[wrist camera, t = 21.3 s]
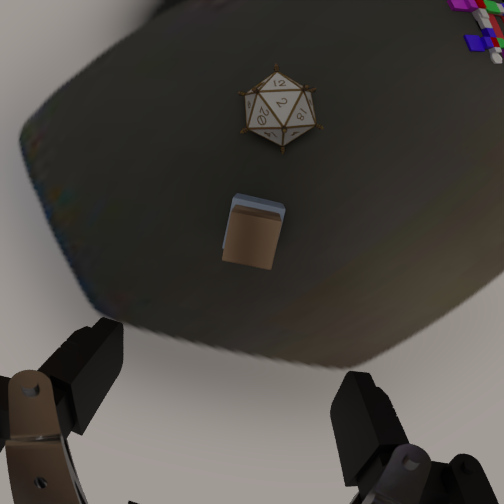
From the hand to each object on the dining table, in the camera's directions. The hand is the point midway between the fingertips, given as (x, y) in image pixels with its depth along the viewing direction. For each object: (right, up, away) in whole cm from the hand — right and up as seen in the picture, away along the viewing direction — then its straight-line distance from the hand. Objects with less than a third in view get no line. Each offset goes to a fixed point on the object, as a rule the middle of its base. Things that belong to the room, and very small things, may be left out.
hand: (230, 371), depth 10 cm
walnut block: (+1, +6, +22) cm, 23 cm away
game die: (+4, +20, +24) cm, 31 cm away
